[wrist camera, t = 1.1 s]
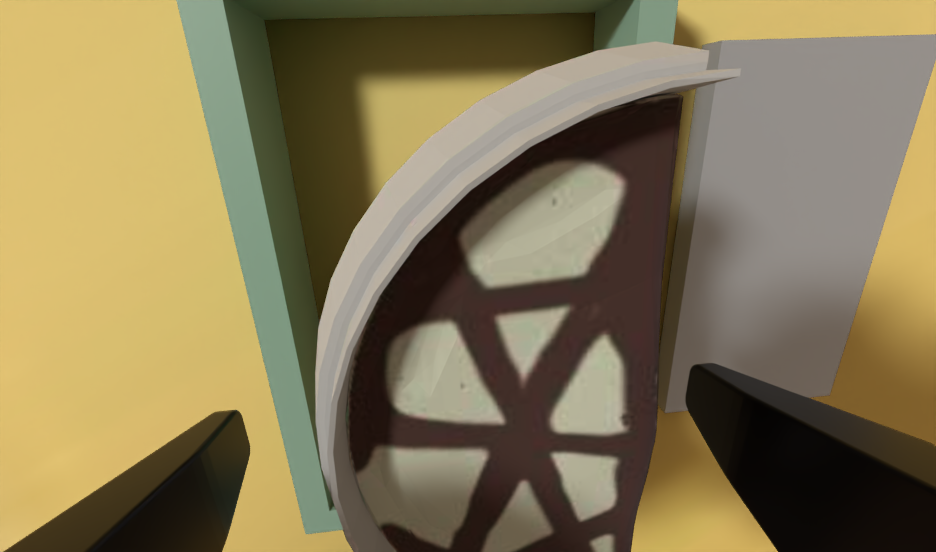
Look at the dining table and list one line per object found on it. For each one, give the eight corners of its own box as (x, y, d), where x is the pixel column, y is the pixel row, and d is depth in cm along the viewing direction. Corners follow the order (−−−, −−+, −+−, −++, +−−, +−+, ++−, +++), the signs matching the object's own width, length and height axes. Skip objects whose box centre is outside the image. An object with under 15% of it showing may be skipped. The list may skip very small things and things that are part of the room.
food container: (336, 88, 14) (164, 42, 4) (530, 77, 14) (750, 15, 5) (386, 410, 18) (355, 729, 9) (531, 393, 19) (647, 678, 9)
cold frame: (591, 440, 20) (619, 495, 17) (322, 471, 19) (305, 534, 16) (629, -26, 13) (685, -62, 11) (220, -21, 12) (162, -59, 9)
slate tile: (810, 382, 20) (829, 395, 19) (652, 398, 19) (664, 413, 18) (910, 38, 15) (943, 34, 14) (702, 45, 14) (721, 40, 13)
